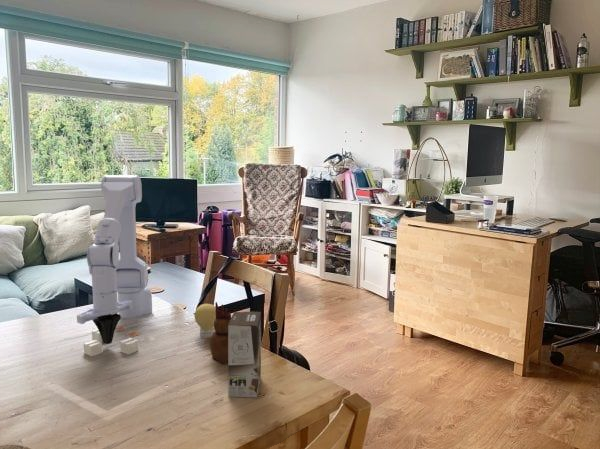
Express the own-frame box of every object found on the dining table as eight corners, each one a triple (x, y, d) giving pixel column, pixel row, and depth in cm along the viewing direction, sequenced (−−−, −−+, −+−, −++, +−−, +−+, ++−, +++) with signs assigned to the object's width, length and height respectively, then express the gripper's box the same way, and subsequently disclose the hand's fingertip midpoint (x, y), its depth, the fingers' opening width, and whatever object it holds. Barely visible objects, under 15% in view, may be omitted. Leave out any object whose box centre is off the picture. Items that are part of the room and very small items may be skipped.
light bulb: (213, 345, 133) (213, 309, 131) (191, 342, 134) (190, 307, 132) (222, 336, 139) (221, 301, 137) (200, 334, 140) (199, 299, 138)
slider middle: (95, 349, 126) (94, 339, 125) (102, 352, 124) (101, 342, 124) (84, 353, 123) (83, 343, 123) (91, 356, 122) (90, 346, 121)
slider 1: (102, 336, 134) (102, 326, 134) (109, 339, 132) (108, 329, 132) (92, 339, 132) (91, 330, 131) (99, 342, 130) (98, 332, 130)
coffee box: (257, 398, 106) (257, 325, 103) (227, 397, 106) (226, 325, 103) (261, 378, 115) (262, 311, 112) (233, 377, 115) (233, 310, 112)
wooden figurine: (205, 362, 122) (204, 303, 120) (220, 353, 128) (219, 297, 125) (228, 368, 119) (227, 308, 117) (242, 359, 124) (241, 301, 122)
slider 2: (130, 347, 127) (130, 337, 127) (138, 350, 126) (137, 340, 125) (120, 351, 125) (120, 341, 124) (128, 354, 123) (127, 344, 123)
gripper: (87, 301, 116) (90, 356, 119) (139, 287, 128) (141, 337, 130) (70, 295, 120) (73, 348, 123) (122, 282, 132) (124, 331, 134)
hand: (107, 342), depth 127 cm, fingers closed
